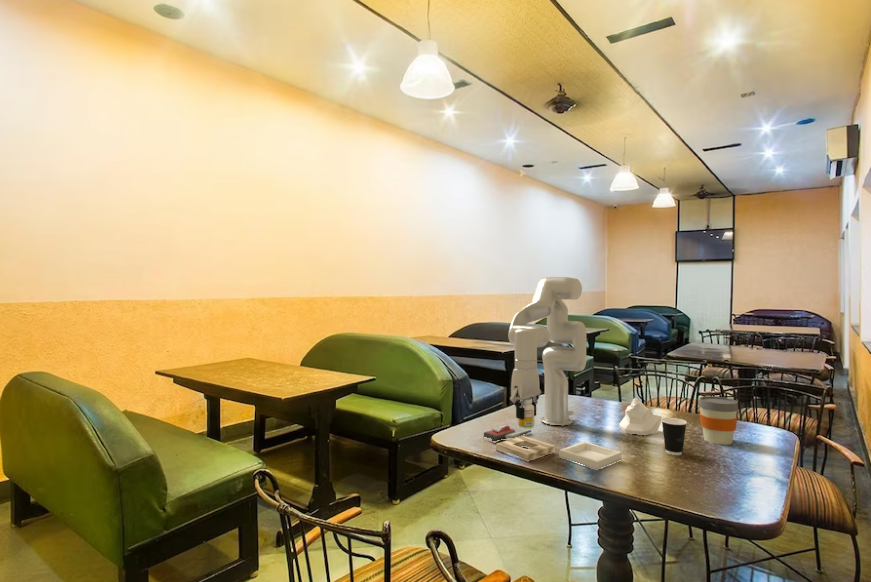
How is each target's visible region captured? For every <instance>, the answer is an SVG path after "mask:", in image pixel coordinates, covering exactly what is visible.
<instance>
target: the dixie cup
mask: <svg viewBox="0 0 871 582" xmlns="http://www.w3.org/2000/svg"><path fill="white" fill-rule="evenodd" d="M661 424H662V433H663V440H664V441H663V443H664V449H665V452H667V453H666V454H668V455H671V454H672V456H682V454H683V451H684V445H685V436H686V435H685V434H686V429H687V424H688V422H687V421H686V420H685V419H682V418H678V417H677V418H676V417H663V418H662V419H661Z"/></svg>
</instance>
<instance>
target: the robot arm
mask: <svg viewBox="0 0 871 582" xmlns="http://www.w3.org/2000/svg"><path fill="white" fill-rule="evenodd" d="M582 290H583V287H582V283H581V281H580V280H579V279H578V278H575V277H568V276H549V277H548V276H547V277H543V278H541V279H539V280H538V282H537V284H536V286H535V290H534V293H533V295H532V298H531V301H530V303H529V304H527V305H525V306H524V307H523V308H522V309H520V310H519V311H518V312H517V313H515V314H514V316H513V318H512V319H511V322H510V326H509V329H508V334H507V336H508V337H507V338H508V341H509V343H510V344H511V345H512V346H514V368H513V370H512V374H511V385H510V395H511V396H510V397H509V401H511V402H512V404H513V405H514V407H515V415H516V416H515V418H516V419H517V420H518V419H522V420H524V408H523V404H524V400H525V399H527V398H532V403H531V404H532V405H533V406H534V417H536V416H537V404H538V400H539V398H540V396H541V395H542V390H541V389H540V377H539V370H538V348H544V347H545V346H547V344H548V343H549V342H550V343H554V344H564V345H573V347H572V346H571V347H569V346H568V347H567V346H556V345H554V346H548V347H546V348H544V350H543V351H542V365H543V371H544V415H543V416H541V417H540V422H541V421H542V422H544V423H546V424H545V425H547V424H550V425H549V426H551V425H568V426H570V425H572V424H571V423H573V420H572V419H571V418H570V416H573V415H574V414H575V411H574V410H571V409H570V410H569V379H568V378H567V376H566V374H565V372H564V371H568V372H582V371H584V370H585V368H586V365H587V327H586V325H585V324H584V323H583V322H582V321H576V320H569V318H568V317H569V315H568V314H569V309H568V306H567V305H566V303H565V302H564V301H563V300H572V301H573V300H578V299H579V298H580V297H581V296H582V292H583V291H582ZM544 318H546V327H545V326H543V325H531V324H530V323H532V322H535V321H538V320H542V319H544ZM528 324H530V325H528ZM520 400H521V402H520ZM542 422H541V423H542ZM544 423H543V424H544ZM569 424H570V425H569Z"/></svg>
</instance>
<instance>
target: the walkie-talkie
mask: <svg viewBox="0 0 871 582" xmlns="http://www.w3.org/2000/svg"><path fill="white" fill-rule="evenodd" d="M531 432H532V430H531V429H529V430H526V431H522V432H516V430H515V429H513V428H510V426H509V425H506V424H502V425H497V427H495V428H492V429H491V430H489V431H485V432H483V438H484V437H487V438H491V439H492V441H497V440H501V439H507V438H515V437H519V436H520V437H521V435H522V436H524V435H523V434H525V435H527V434H528V433H529V434H530V433H531Z"/></svg>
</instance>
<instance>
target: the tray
mask: <svg viewBox="0 0 871 582" xmlns="http://www.w3.org/2000/svg"><path fill="white" fill-rule="evenodd" d="M558 453H559V454H558V458H559V457H562V458H565V459H568V460H571V461H574V462H577V463H580V464H583V465H585V466H588V467H591V468H595V469H599V468H601V467H604V466H607V465H609V464H612V463H614V462H617V461H619V460H622V459H623V458H622V457H623V456H622V455H623V454H622V453H623V452H622V451H619V450H615V449H611V448H608V447H605V446H602V445H597V444H594V443H591V442H587V441H582V442H579V443H576V444H573V445H570V446H568V447H567V446H565V448H561V449H559V451H558Z"/></svg>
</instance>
